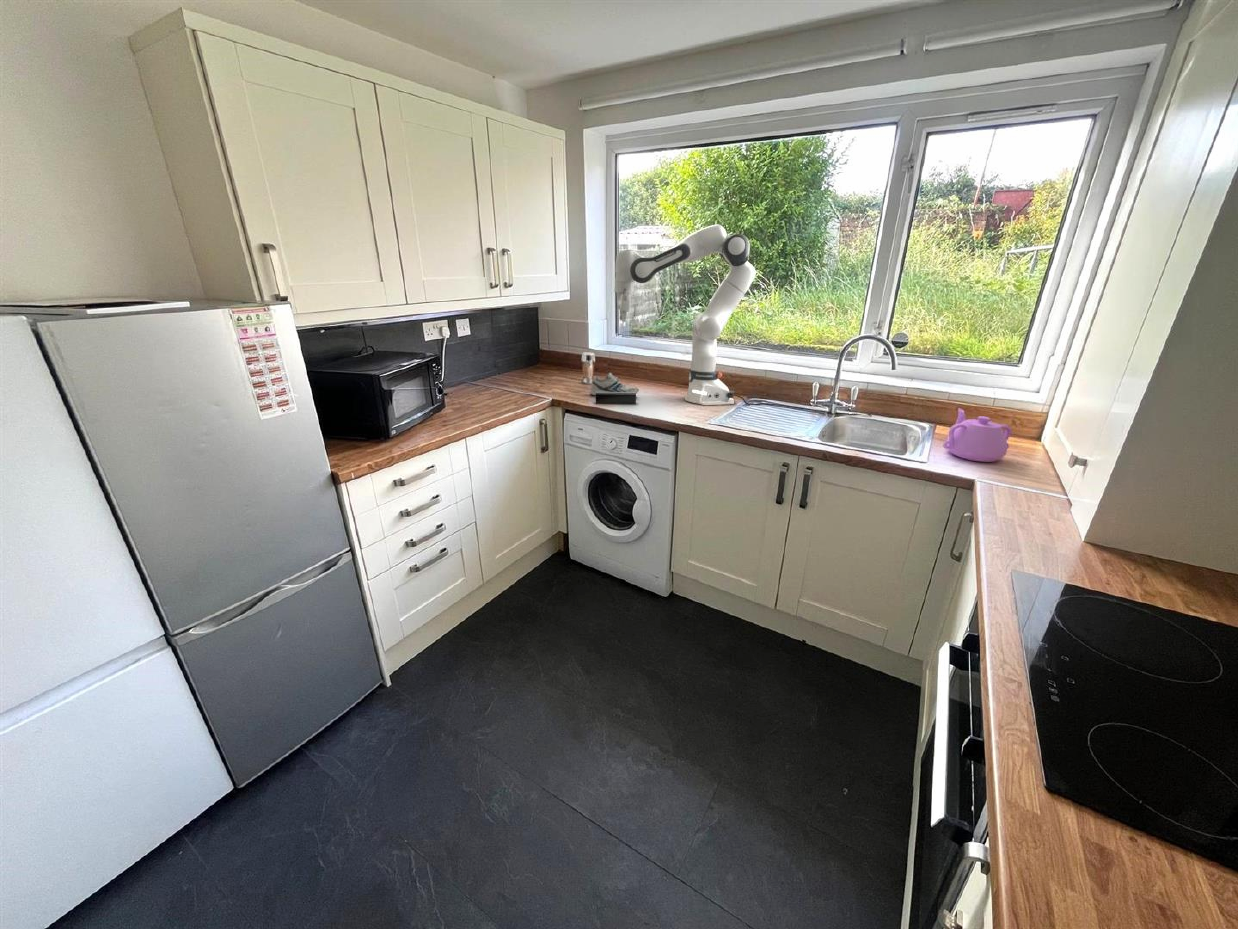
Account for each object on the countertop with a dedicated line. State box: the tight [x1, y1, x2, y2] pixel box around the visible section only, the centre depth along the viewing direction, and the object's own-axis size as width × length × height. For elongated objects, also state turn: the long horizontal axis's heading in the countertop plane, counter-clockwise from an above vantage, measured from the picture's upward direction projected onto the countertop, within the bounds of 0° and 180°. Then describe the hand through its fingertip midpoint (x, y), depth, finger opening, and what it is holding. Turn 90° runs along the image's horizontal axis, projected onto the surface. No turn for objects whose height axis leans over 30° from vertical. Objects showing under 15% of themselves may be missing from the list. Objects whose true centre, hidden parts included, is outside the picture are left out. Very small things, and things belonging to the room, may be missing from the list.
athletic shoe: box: [589, 372, 640, 397], centre depth 234 cm, size 10×23×12 cm, turn 89°
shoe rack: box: [595, 392, 637, 405], centre depth 221 cm, size 18×2×5 cm, turn 94°
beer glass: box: [581, 352, 596, 385], centre depth 258 cm, size 7×7×15 cm
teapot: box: [942, 407, 1012, 463], centre depth 170 cm, size 22×22×14 cm
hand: (622, 320), depth 229 cm, fingers open, 8 cm apart
